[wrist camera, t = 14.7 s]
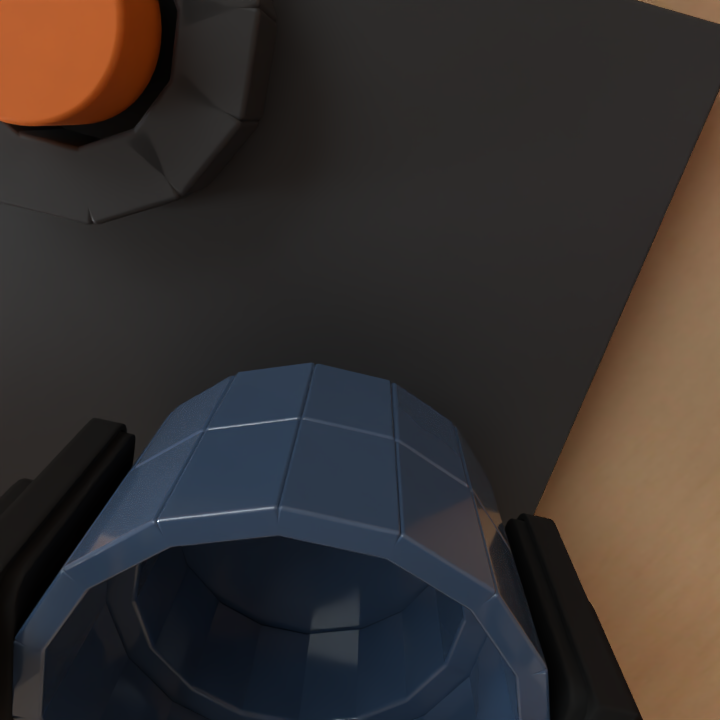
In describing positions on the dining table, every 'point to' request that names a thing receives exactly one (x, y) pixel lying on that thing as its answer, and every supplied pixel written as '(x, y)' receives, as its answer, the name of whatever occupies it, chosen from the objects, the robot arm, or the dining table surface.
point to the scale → (351, 215)
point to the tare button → (75, 58)
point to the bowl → (290, 570)
